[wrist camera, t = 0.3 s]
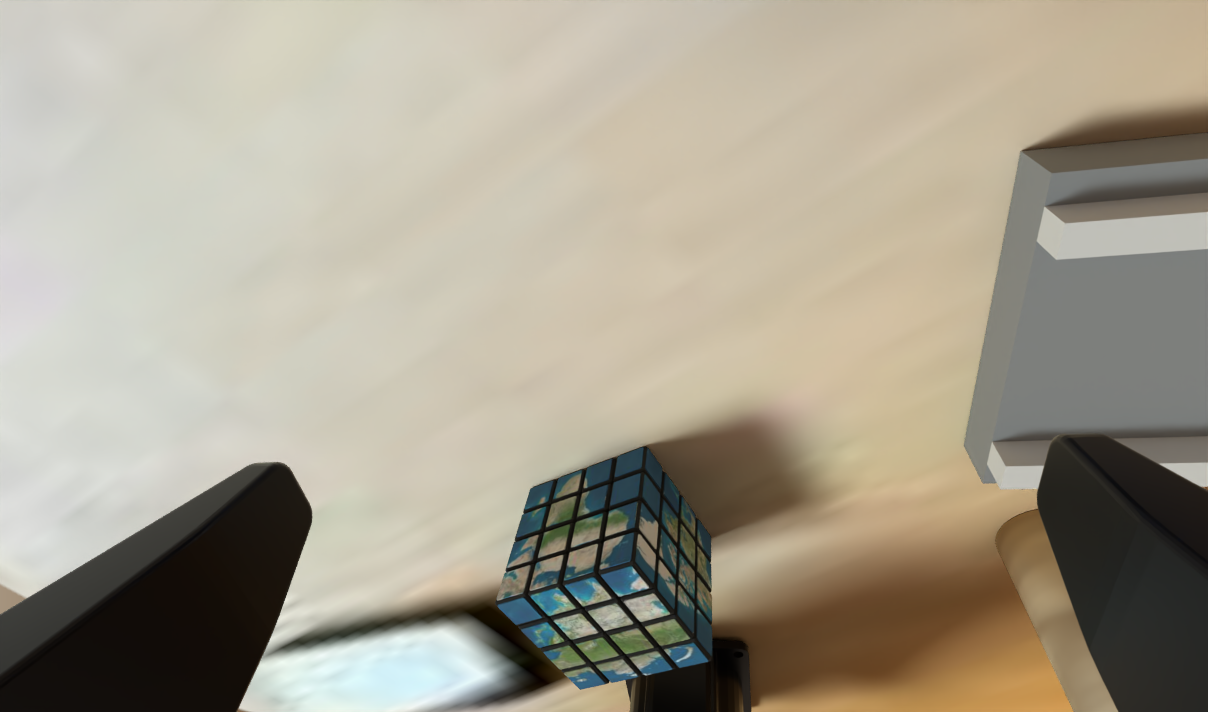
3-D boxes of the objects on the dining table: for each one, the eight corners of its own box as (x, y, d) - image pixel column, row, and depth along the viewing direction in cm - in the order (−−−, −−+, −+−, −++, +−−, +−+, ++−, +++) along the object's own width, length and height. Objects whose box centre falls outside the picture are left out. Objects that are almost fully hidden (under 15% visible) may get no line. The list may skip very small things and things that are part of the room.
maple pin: (1073, 563, 27) (1214, 807, 20) (989, 563, 28) (1094, 799, 20) (1093, 508, 25) (1255, 752, 18) (1003, 509, 26) (1123, 745, 18)
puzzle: (528, 487, 29) (491, 604, 24) (646, 443, 26) (633, 562, 22) (598, 570, 31) (579, 692, 26) (712, 537, 29) (715, 663, 24)
